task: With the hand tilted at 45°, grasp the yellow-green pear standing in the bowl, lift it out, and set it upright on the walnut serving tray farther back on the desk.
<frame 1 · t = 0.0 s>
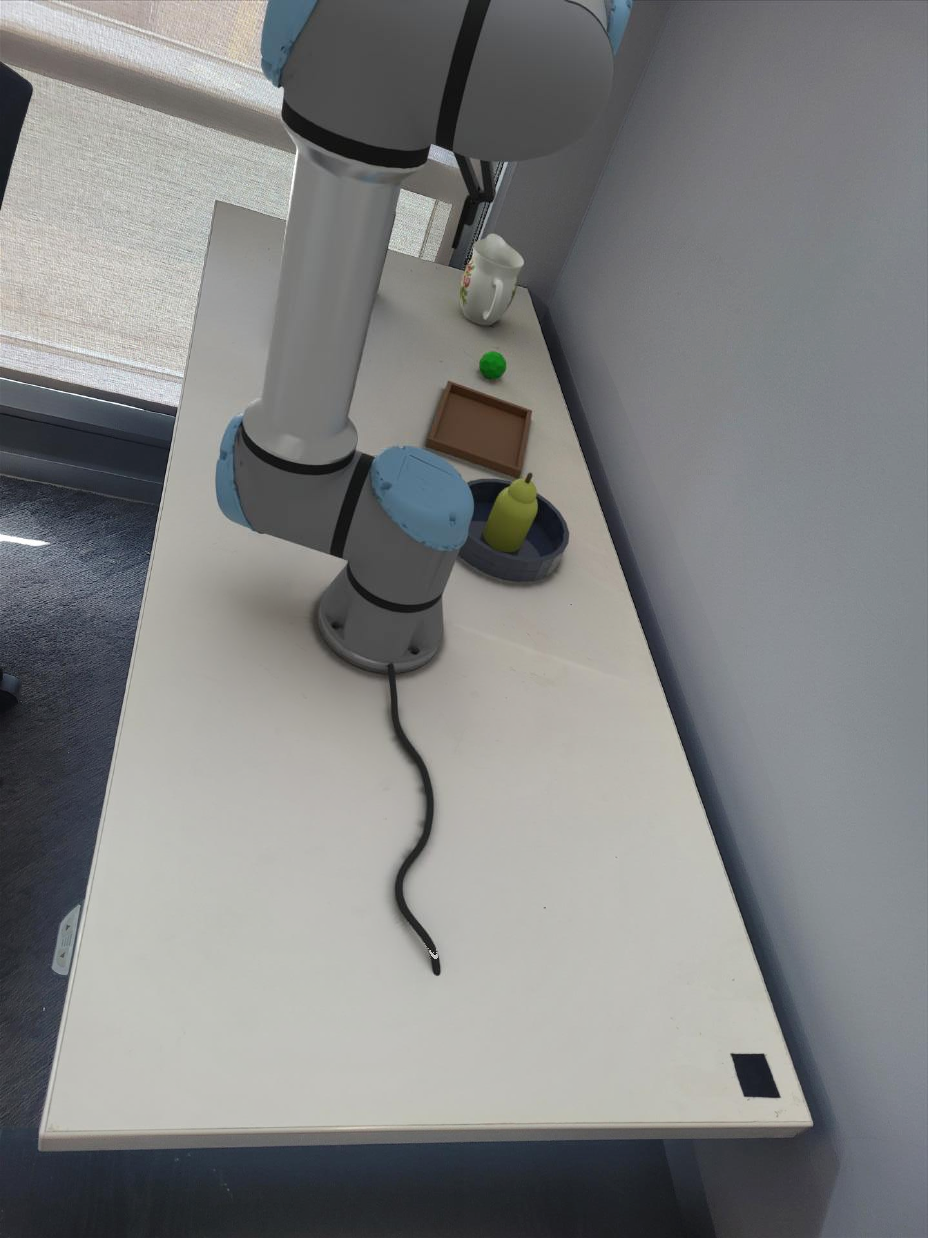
hand: (409, 228, 116), 28 cm above the table, tool pointing down, fingers open, 13 cm apart
pear: (502, 538, 119), point 1 cm above the table, touching bowl
polyhedron: (488, 377, 152), on the table
tray: (479, 433, 138), on the table
canister: (352, 290, 160), on the table
pitcher: (478, 319, 167), on the table
portable speaker: (313, 320, 147), on the table
bowl: (501, 541, 119), on the table
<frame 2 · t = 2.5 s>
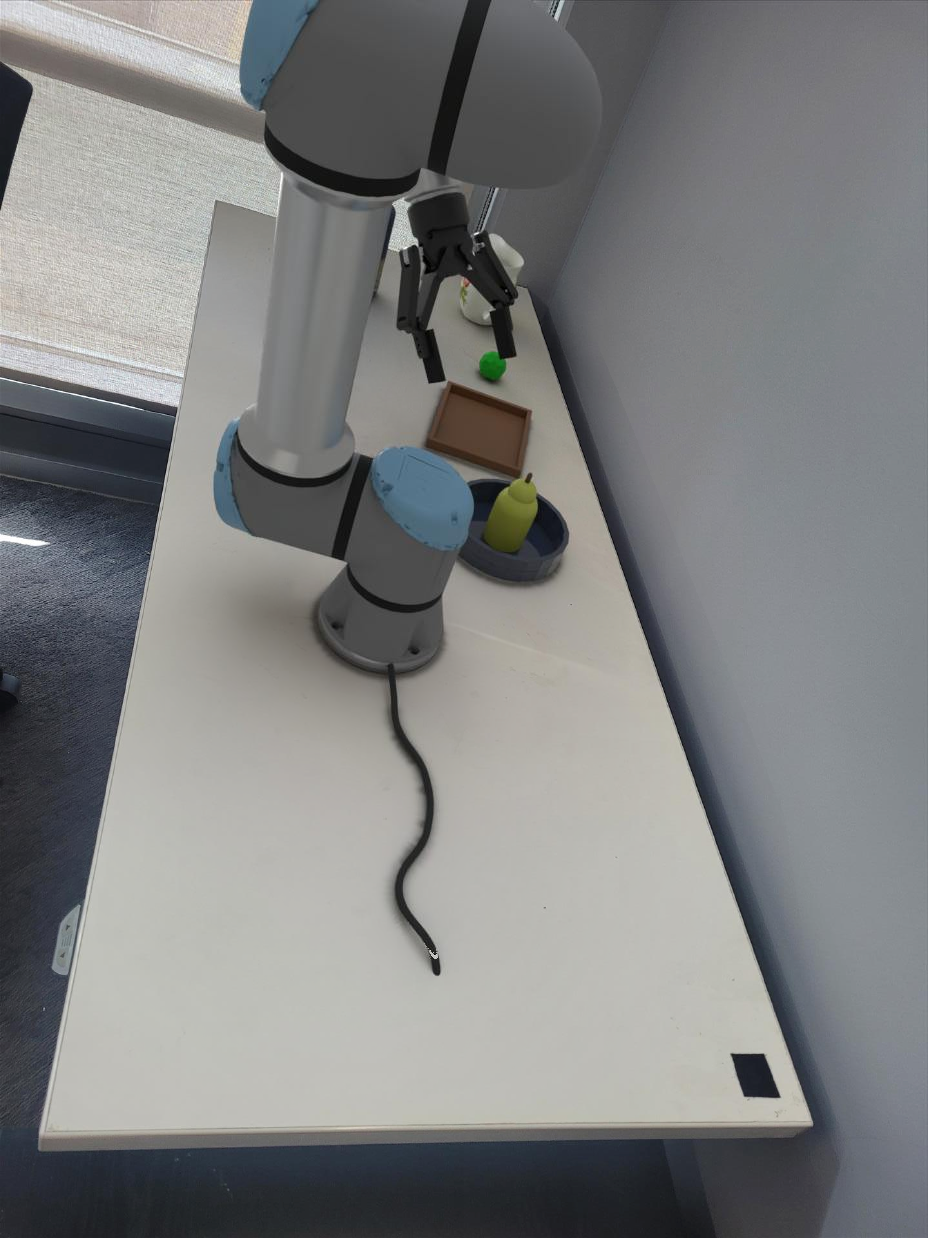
hand: (474, 369, 110), 20 cm above the table, tool tilted 40°, fingers open, 13 cm apart
nothing on the table moved.
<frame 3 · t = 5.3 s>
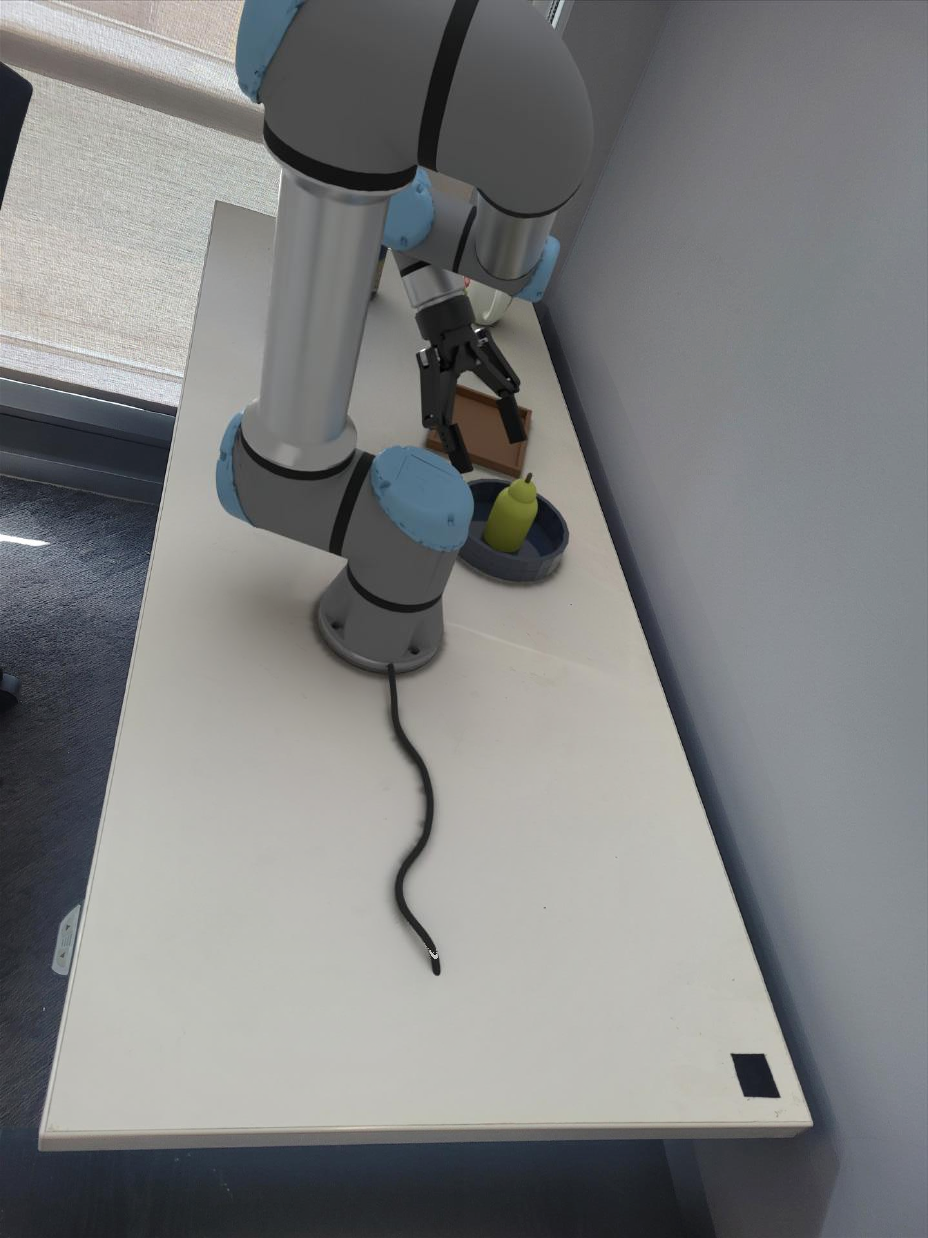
hand: (492, 456, 114), 11 cm above the table, tool tilted 45°, fingers open, 13 cm apart
nothing on the table moved.
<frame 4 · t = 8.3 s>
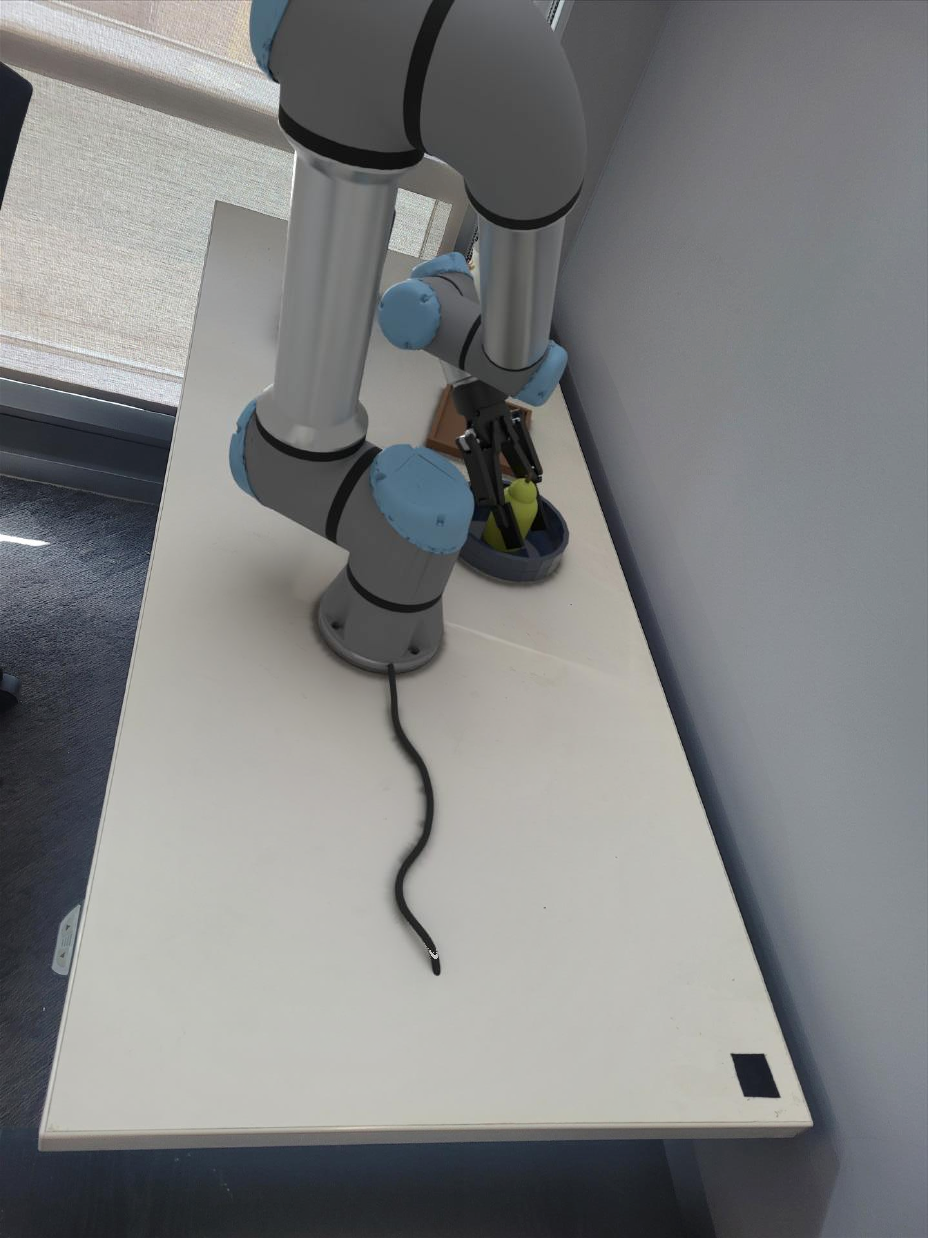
hand: (528, 538, 116), 3 cm above the table, tool tilted 45°, fingers closed on pear, 6 cm apart
pear: (502, 538, 119), point 1 cm above the table, touching gripper, bowl
everything else where it was.
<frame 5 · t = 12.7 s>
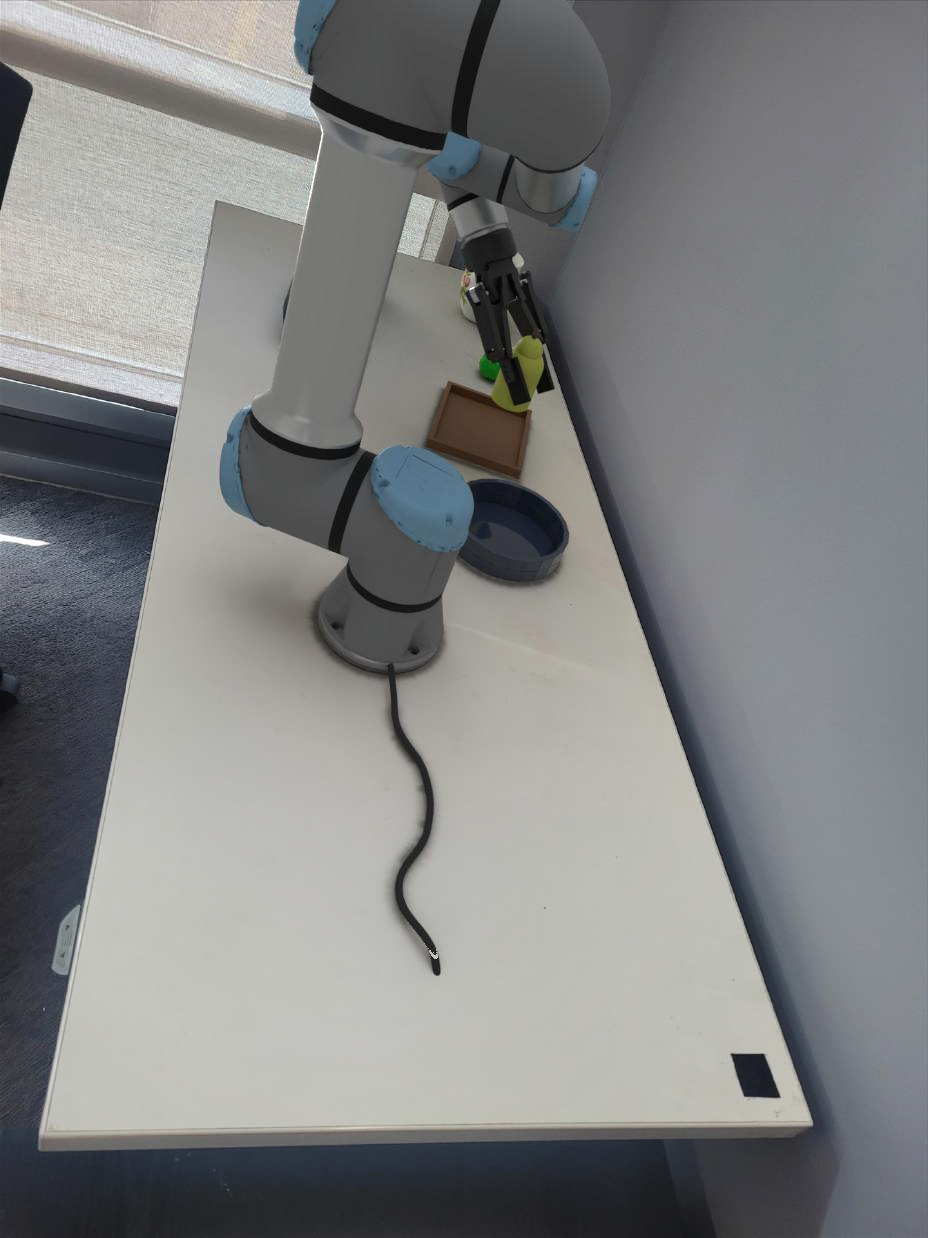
hand: (534, 396, 121), 15 cm above the table, tool tilted 45°, fingers closed on pear, 6 cm apart
pear: (509, 400, 124), point 12 cm above the table, touching gripper
everything else where it was.
when the fingers open (3 cm above the table, at t = 17.1 s): pear stays where it is, resting on tray.
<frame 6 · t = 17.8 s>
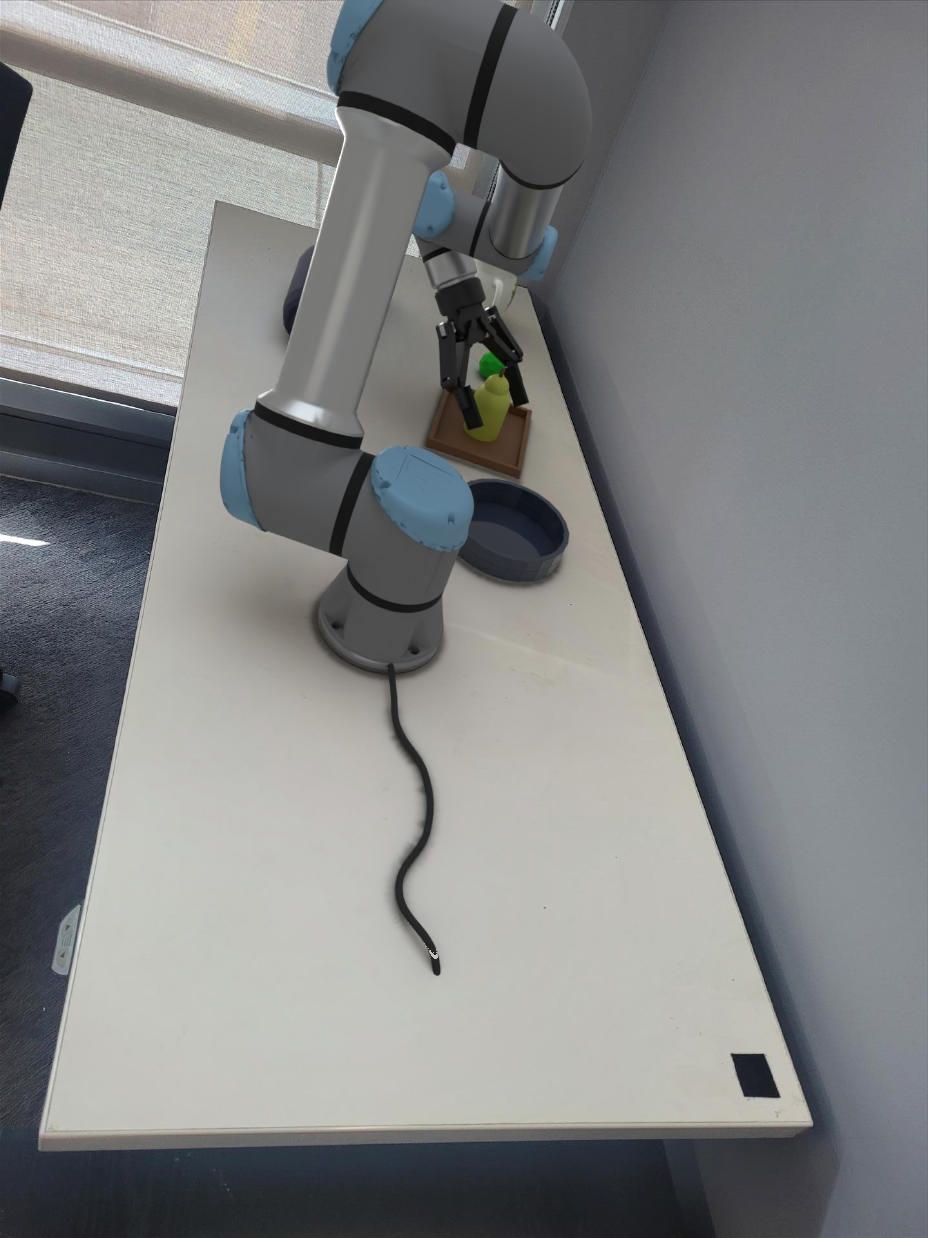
hand: (499, 416, 133), 5 cm above the table, tool tilted 45°, fingers open, 13 cm apart
pear: (480, 430, 137), point 1 cm above the table, touching tray
everything else where it was.
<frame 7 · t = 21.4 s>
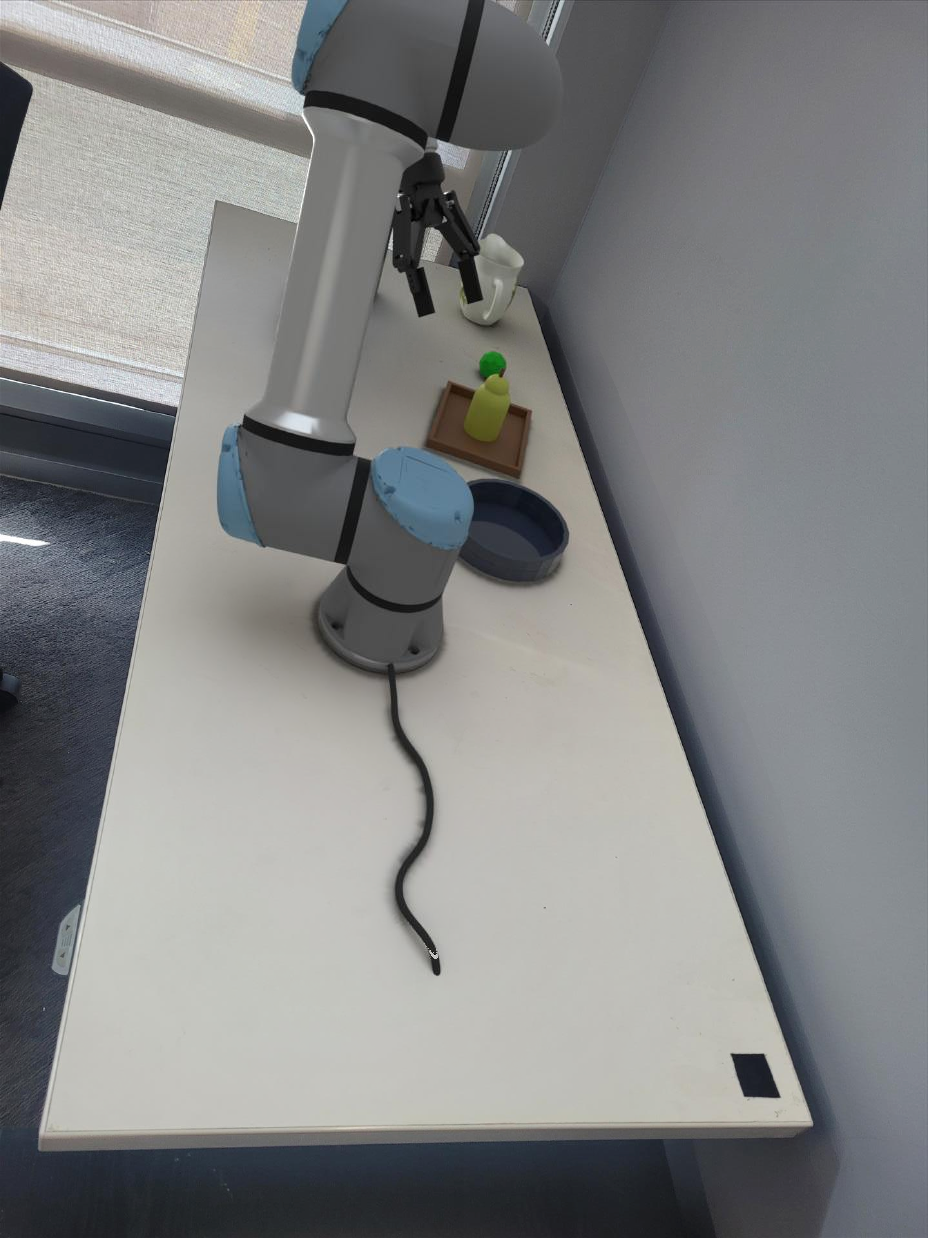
hand: (452, 308, 127), 17 cm above the table, tool tilted 40°, fingers open, 13 cm apart
nothing on the table moved.
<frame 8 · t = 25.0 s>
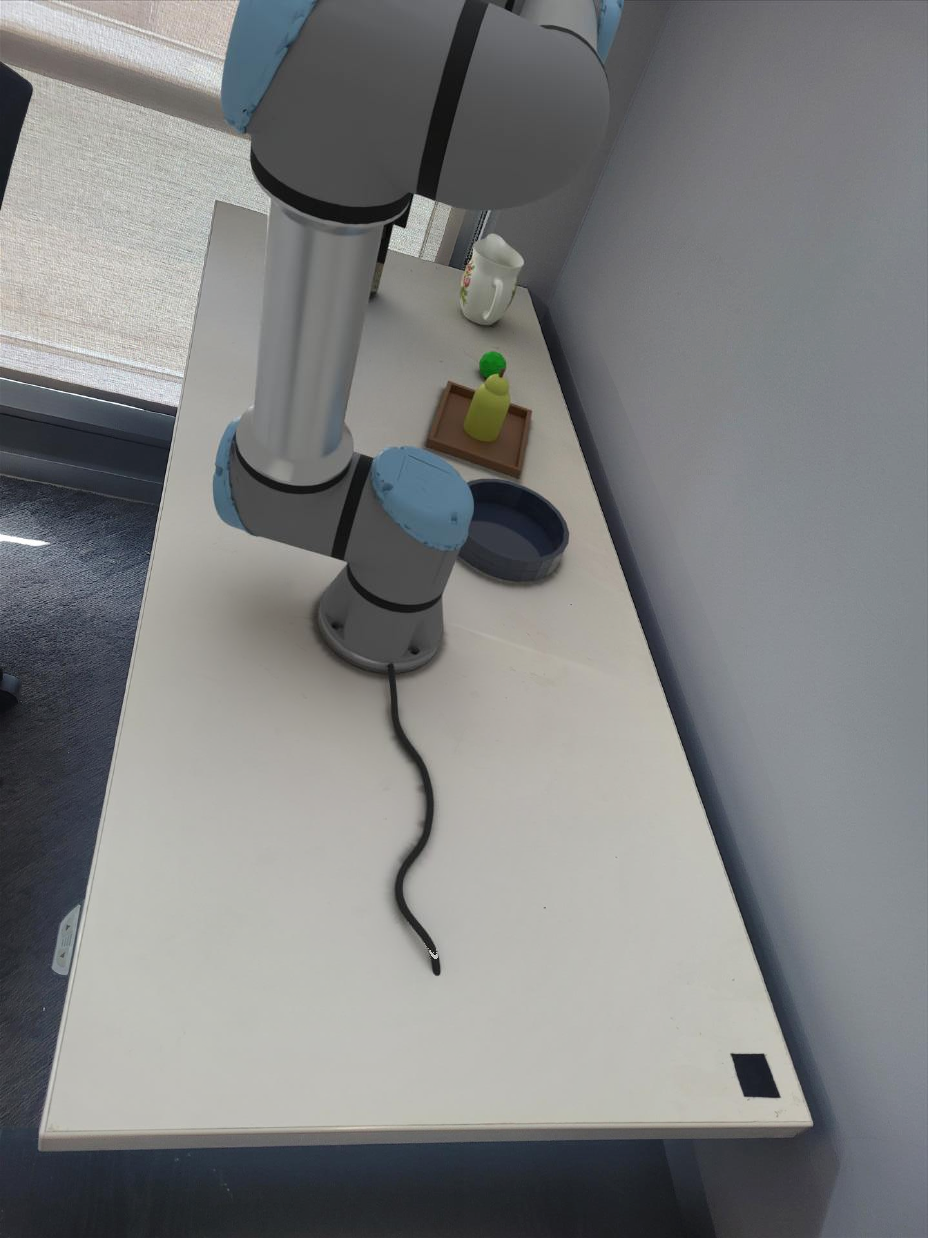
hand: (385, 241, 109), 29 cm above the table, tool pointing down, fingers open, 13 cm apart
nothing on the table moved.
at the end: pear inside the target area in the tray (0.0 cm from its centre), point 0.6 cm above the tray's base; pear tilted 0°; pear moved 27.0 cm from its start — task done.
